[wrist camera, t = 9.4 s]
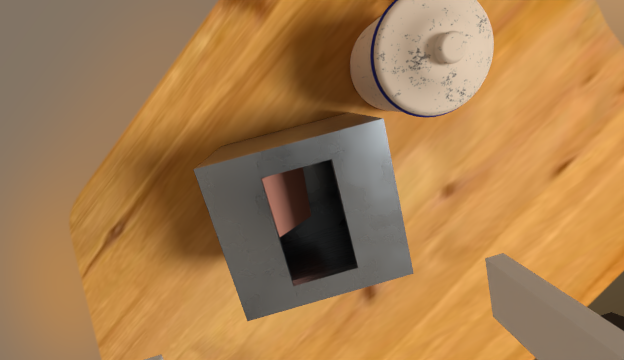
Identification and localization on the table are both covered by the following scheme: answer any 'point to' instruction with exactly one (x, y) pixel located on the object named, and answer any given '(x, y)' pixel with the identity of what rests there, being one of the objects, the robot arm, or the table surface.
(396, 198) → the grey hollow block
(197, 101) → the table surface
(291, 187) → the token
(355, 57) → the teacup with lid
